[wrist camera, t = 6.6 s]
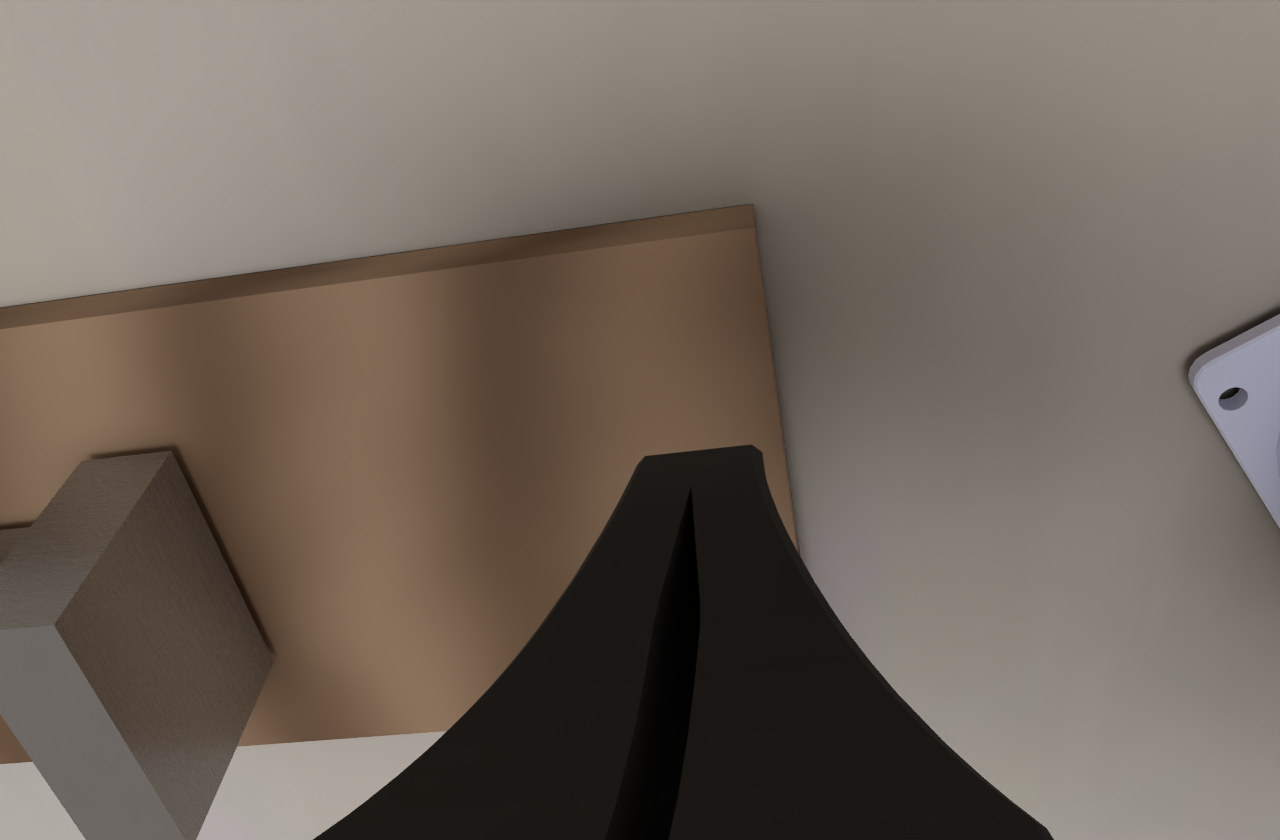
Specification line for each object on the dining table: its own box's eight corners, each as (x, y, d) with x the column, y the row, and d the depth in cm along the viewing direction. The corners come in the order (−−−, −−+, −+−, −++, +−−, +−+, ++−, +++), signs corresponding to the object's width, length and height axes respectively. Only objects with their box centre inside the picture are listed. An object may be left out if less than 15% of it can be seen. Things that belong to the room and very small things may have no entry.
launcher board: (753, 204, 21) (753, 227, 21) (814, 671, 28) (817, 703, 27) (-337, 354, 25) (-374, 380, 24) (-55, 739, 31) (-76, 769, 30)
